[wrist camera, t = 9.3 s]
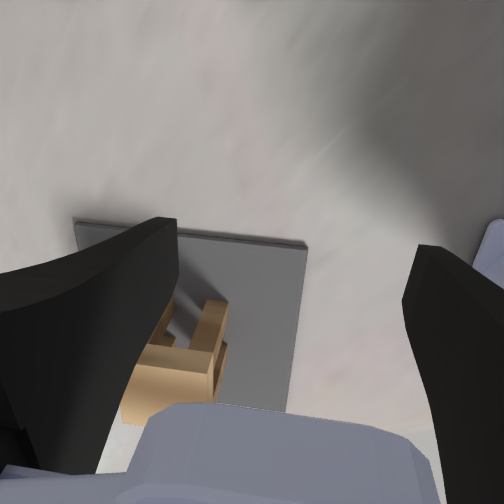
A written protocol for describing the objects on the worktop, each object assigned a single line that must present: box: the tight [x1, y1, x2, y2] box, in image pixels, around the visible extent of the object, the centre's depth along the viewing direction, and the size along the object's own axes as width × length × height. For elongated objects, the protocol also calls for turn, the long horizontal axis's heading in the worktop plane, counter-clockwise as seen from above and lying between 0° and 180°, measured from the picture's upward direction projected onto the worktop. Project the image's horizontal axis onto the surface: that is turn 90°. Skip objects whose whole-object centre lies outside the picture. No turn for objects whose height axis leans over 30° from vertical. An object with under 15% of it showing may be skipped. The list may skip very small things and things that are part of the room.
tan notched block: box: [120, 295, 229, 426], centre depth 24 cm, size 5×5×6 cm
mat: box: [74, 222, 308, 413], centre depth 27 cm, size 14×14×1 cm
